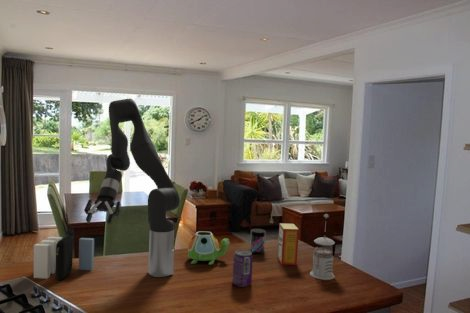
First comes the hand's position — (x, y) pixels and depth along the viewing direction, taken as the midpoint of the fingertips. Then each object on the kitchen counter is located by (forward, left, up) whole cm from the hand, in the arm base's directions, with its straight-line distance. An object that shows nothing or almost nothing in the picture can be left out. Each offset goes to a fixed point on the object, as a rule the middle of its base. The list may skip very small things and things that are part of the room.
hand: (98, 222), depth 156 cm
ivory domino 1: (+17, +17, -15) cm, 29 cm away
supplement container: (-70, -1, -16) cm, 72 cm away
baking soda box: (-80, +11, -16) cm, 82 cm away
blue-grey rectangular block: (+3, +11, -15) cm, 19 cm away
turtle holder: (-45, +6, -16) cm, 48 cm away
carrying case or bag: (+10, +18, -16) cm, 26 cm away
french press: (-88, +28, -16) cm, 94 cm away
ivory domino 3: (+16, +13, -15) cm, 26 cm away
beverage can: (-54, +32, -16) cm, 65 cm away
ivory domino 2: (+15, +8, -15) cm, 23 cm away
